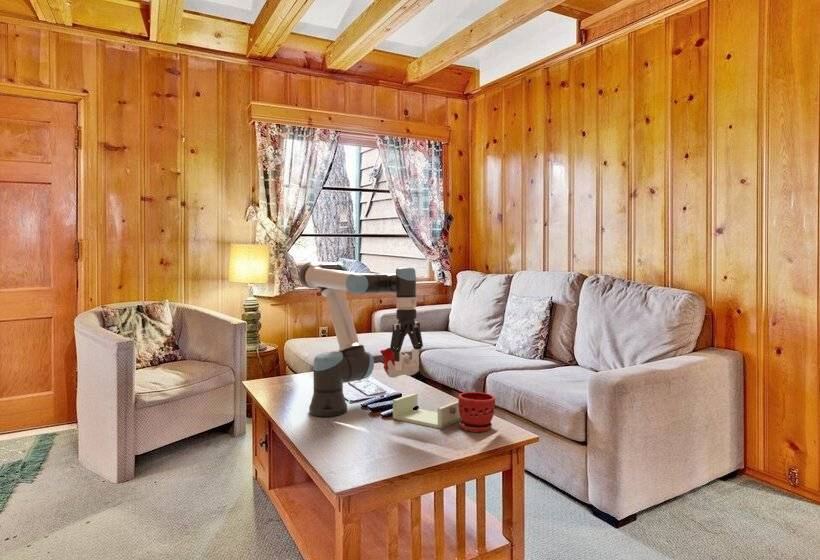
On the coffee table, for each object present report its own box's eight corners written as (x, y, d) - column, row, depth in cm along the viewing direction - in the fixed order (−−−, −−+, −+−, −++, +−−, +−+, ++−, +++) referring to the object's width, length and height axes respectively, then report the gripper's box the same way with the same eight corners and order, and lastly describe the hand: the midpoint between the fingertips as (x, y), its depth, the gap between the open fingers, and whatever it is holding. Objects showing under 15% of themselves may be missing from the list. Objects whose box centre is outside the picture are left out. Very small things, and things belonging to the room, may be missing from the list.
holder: (390, 418, 196) (390, 399, 196) (411, 410, 207) (411, 392, 207) (444, 429, 182) (444, 409, 181) (464, 420, 193) (464, 401, 193)
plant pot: (472, 436, 174) (471, 401, 174) (451, 426, 186) (451, 393, 185) (502, 430, 180) (502, 397, 180) (480, 421, 192) (480, 389, 192)
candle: (417, 372, 187) (391, 340, 188) (395, 390, 189) (369, 359, 190) (422, 366, 196) (397, 336, 197) (400, 384, 198) (376, 354, 199)
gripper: (394, 310, 181) (395, 373, 181) (431, 307, 198) (432, 365, 198) (379, 309, 185) (380, 371, 185) (416, 307, 203) (417, 363, 203)
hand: (407, 368), depth 192 cm, fingers closed on candle, 9 cm apart
